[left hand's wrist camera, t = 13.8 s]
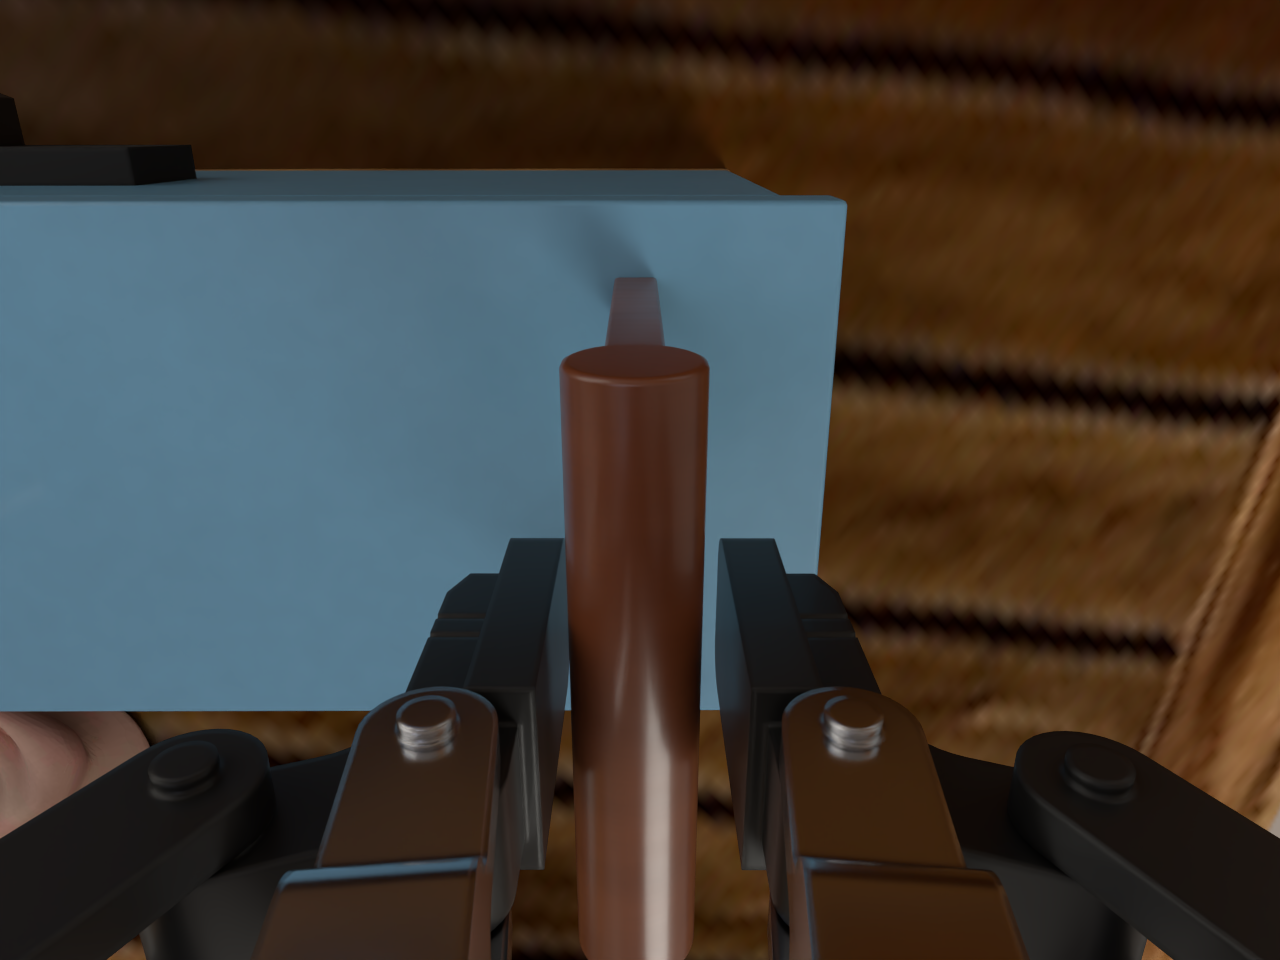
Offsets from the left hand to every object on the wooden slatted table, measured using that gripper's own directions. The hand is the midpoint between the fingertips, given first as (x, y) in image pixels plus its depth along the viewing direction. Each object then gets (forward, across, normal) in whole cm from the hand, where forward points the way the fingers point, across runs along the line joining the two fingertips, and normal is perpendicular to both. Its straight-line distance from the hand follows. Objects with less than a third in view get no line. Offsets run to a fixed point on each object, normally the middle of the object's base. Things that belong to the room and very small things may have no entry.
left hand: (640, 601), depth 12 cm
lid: (+5, +5, 0) cm, 8 cm away
